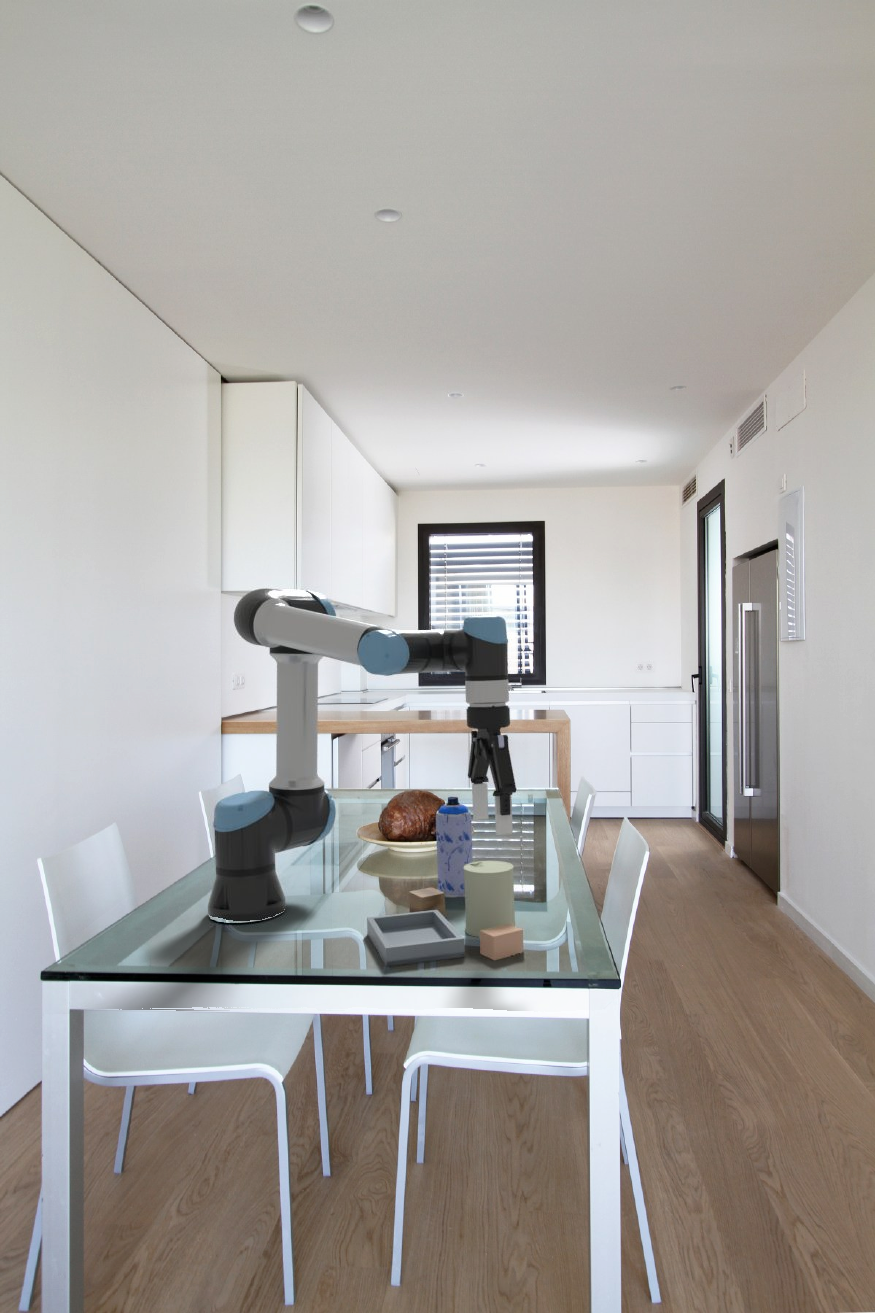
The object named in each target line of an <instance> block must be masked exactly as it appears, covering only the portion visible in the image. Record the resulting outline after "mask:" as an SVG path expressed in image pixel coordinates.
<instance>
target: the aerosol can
mask: <svg viewBox="0 0 875 1313" xmlns="http://www.w3.org/2000/svg"><path fill="white" fill-rule="evenodd" d="M472 828H473V827H472V814H471V810H470V809H468V807H467V806H466V805H464V804H463V803H461V802H459V797H458V796H448V797H447V803H445V804H443V805H442V806H440V808H439V809H438V810H437V811H436V815H435V830H436V832H435V834H436V835H435V836H436V855H437V856H436V861H437V862H436V863H437V864H436V865H437V890H439V891H441V892H443V893H445V898H463V897H464V898H465V882H464V869H463V868H464V866H465V865H466V864H469V863H472V862H474V860H473V831H472V830H473V829H472Z"/></svg>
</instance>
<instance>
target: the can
mask: <svg viewBox="0 0 875 1313" xmlns="http://www.w3.org/2000/svg"><path fill="white" fill-rule="evenodd" d="M463 869H464V882H465V897H464V902H465V903H464V904H465V905H464V906H465V910H464V911H465V928H464V930H465V933H466V934H468V935H469V936H471V937H475V938H480V930H484V929H488V928H492V927H496V926H501V925H505V924H511V925H513V926H515V927H516V920H515V919H516V918H515V916H516V915H515V914H516V913H515V891H514V888H515V887H514V881H515V880H514V870H515V867H514V864H512V863H510V862H508V861H501V860H479V861H473V862H472V863H469V864H466V865H465V866H464V868H463Z"/></svg>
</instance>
